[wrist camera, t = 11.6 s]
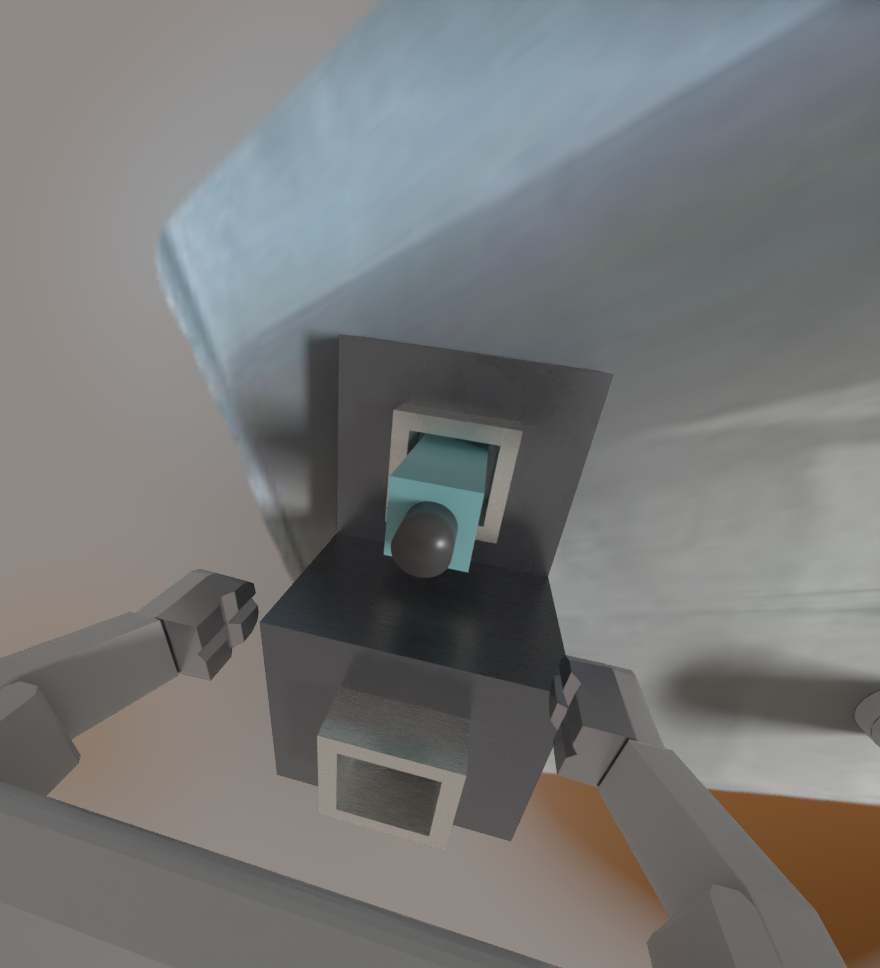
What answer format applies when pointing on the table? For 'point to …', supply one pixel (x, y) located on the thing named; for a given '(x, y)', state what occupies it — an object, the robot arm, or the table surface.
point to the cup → (869, 716)
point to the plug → (436, 505)
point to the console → (432, 600)
